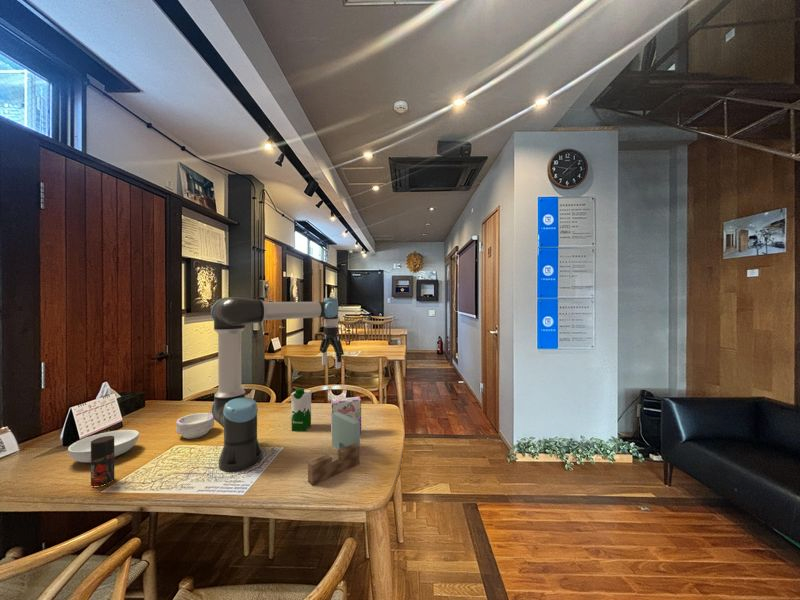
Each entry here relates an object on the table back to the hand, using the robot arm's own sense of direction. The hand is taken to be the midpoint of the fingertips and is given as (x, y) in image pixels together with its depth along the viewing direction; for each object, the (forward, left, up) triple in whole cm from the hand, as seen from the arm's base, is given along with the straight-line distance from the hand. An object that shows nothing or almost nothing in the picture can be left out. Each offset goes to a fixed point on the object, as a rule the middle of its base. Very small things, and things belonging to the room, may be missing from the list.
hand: (331, 366), depth 165 cm
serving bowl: (-87, +31, -28) cm, 97 cm away
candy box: (-5, -21, -28) cm, 36 cm away
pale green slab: (-15, -35, -28) cm, 47 cm away
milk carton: (-17, 0, -28) cm, 33 cm away
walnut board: (-27, -46, -28) cm, 60 cm away
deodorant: (-88, +6, -28) cm, 93 cm away
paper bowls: (-56, +29, -28) cm, 69 cm away
